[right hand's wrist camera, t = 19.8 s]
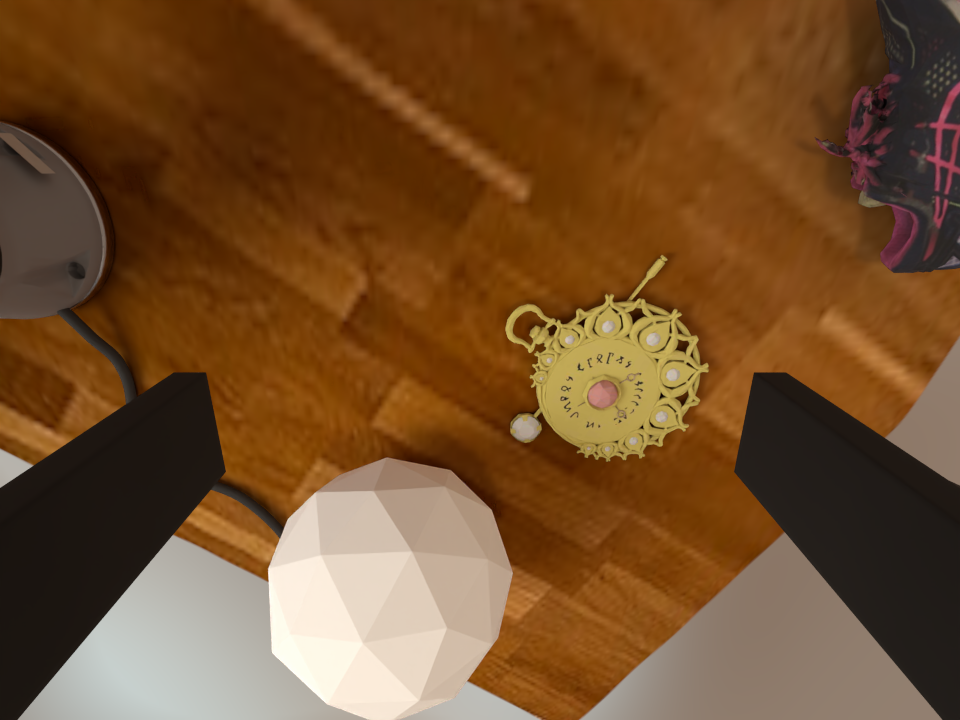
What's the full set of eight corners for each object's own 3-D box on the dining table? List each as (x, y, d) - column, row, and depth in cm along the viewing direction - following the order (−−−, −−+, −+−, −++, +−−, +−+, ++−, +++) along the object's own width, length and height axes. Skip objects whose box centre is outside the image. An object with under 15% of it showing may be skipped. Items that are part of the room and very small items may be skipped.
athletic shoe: (1000, -120, 29) (789, 13, 32) (1208, 212, 28) (968, 318, 31) (894, 1, 40) (744, 92, 43) (1039, 243, 39) (875, 319, 42)
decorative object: (620, 510, 49) (446, 407, 44) (613, 494, 52) (447, 395, 47) (779, 343, 43) (598, 203, 38) (763, 333, 46) (591, 200, 41)
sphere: (440, 504, 59) (438, 714, 49) (261, 476, 50) (210, 730, 39) (546, 449, 46) (575, 720, 36) (330, 395, 37) (281, 745, 26)
